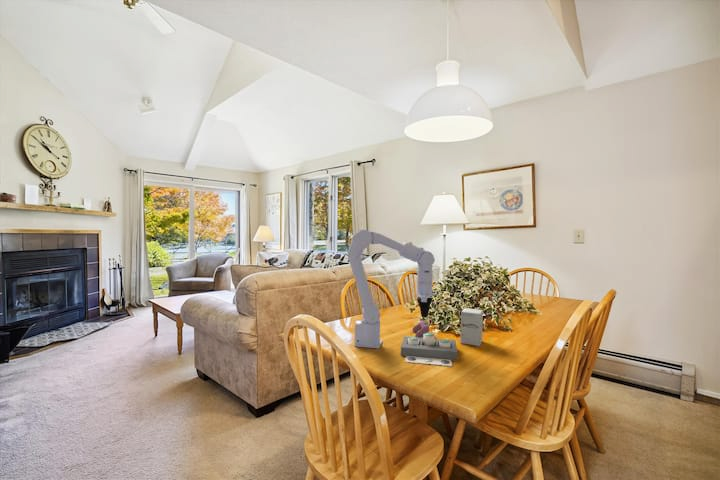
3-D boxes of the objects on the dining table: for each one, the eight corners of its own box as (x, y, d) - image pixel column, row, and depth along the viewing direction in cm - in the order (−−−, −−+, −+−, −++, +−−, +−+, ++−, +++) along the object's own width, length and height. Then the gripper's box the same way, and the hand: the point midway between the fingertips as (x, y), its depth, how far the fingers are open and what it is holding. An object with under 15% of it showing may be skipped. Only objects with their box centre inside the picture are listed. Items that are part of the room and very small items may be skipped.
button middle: (423, 347, 117) (423, 335, 117) (423, 343, 121) (423, 332, 121) (434, 348, 116) (434, 336, 116) (434, 344, 120) (434, 333, 120)
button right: (438, 354, 116) (439, 342, 116) (438, 350, 120) (439, 338, 120) (450, 355, 115) (450, 343, 115) (450, 351, 119) (450, 339, 119)
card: (405, 362, 109) (405, 361, 109) (406, 356, 114) (406, 355, 114) (451, 366, 106) (451, 365, 106) (451, 360, 111) (451, 359, 111)
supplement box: (459, 343, 127) (460, 311, 127) (463, 338, 134) (463, 307, 134) (480, 346, 124) (480, 313, 124) (482, 341, 131) (483, 309, 130)
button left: (407, 351, 118) (407, 339, 118) (408, 347, 122) (408, 336, 122) (418, 352, 117) (418, 340, 117) (419, 348, 121) (419, 337, 121)
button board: (400, 355, 115) (400, 347, 115) (404, 344, 127) (404, 336, 126) (457, 360, 111) (457, 351, 110) (455, 348, 122) (455, 340, 122)
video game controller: (424, 342, 133) (432, 327, 133) (414, 337, 133) (422, 322, 133) (420, 335, 143) (427, 320, 143) (411, 330, 143) (418, 316, 143)
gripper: (435, 285, 119) (434, 322, 119) (435, 279, 133) (435, 312, 133) (415, 284, 120) (415, 321, 121) (417, 278, 134) (417, 311, 135)
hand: (424, 316), depth 127 cm, fingers closed
